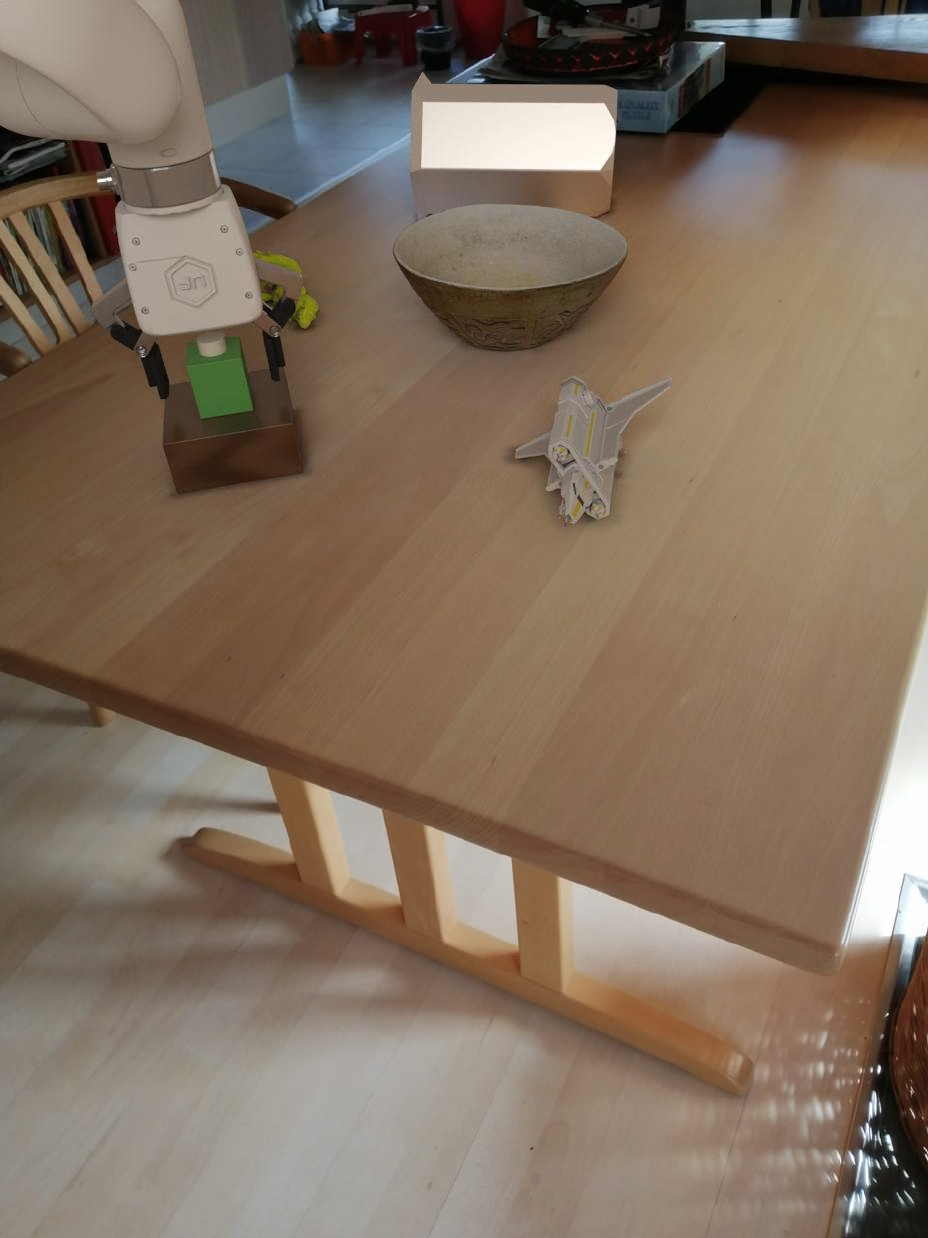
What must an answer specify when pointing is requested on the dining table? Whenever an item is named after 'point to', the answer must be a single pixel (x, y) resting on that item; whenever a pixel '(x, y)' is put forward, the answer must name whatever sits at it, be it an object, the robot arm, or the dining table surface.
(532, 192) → the white boxy piece
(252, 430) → the walnut block
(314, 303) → the dinosaur figurine
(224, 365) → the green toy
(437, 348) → the dining table surface
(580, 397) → the toy spacecraft
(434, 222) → the bowl
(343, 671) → the dining table surface
